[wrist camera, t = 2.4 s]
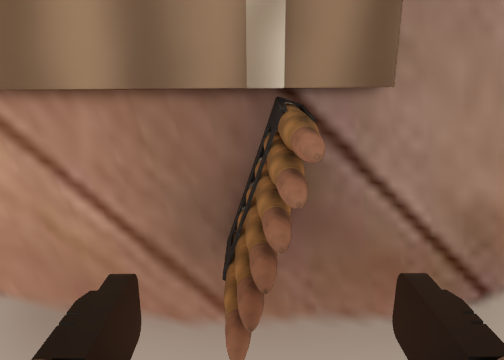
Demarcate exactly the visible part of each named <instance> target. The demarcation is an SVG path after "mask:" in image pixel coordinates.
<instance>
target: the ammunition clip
mask: <svg viewBox="0 0 504 360" xmlns="http://www.w3.org/2000/svg"><path fill="white" fill-rule="evenodd" d="M315 121H316V119H315V118H314V117H313V116H312V115H311V113H310V112H309V111H308V110H307V109H306V108H305V107H304V105H301V104H298V103H295V102H292V101H289V100H286V99H283V98H280V97H277V98H276V100H275V103H274V106H273V108H272V111H271V114H270V117H269V120H268V123H267V126H266V129H265V132H264V135H263V138H262V141H261V144H260V147H259V150H258V153H257V156H256V159H255V161H254V164H253V167H252V170H251V173H250V176H249V179H248V182H247V185H246V188H245V191H244V194H243V197H242V200H241V203H240V206H239V209H238V212H237V214H236V217H235V220H234V223H233V226H232V229H231V232H230V235H229V238H228V241H227V247H226V255H225V263H224V270H223V278H222V279H223V280H225V281H226V283H225V292H224V305H225V310H226V316H225V319H226V325H225V335H226V347H227V352H228V355H229V358H230V360H244V359H245V356H246V353H247V350H248V348H249V344H250V338H251V332H252V331H253V330H254V329H255V328H256V327H257V325H258V323H259V320H260V317H261V315H262V311H263V304H264V294H267V293H268V292H269V291H270V290H271V289H272V287H273V284H274V282H275V279H276V275H277V252H278V253H283V252H285V251H286V250H287V248H288V246H289V243H290V241H291V236H292V226H291V216H290V212H291V207H292V208H294V209H300V208H302V207H303V206H304V205H305V203H306V200H307V196H308V189H307V183H306V181H305V176H304V166H303V163H302V161H301V159H302V160H304V161H306V162H311V163H315V162H319V161H320V160H321V159H322V158H323V157H324V154H325V144H324V141H323V139H322V137H321V135H320V134H319V131H318V128H317V125H316V124H315Z"/></svg>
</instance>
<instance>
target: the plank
mask: <svg viewBox="0 0 504 360" xmlns="http://www.w3.org/2000/svg"><path fill="white" fill-rule="evenodd" d="M402 2H403V0H0V90H13V89H171V88H329V87H394V85H395V74H396V64H397V54H398V43H399V33H400V23H401V12H402Z"/></svg>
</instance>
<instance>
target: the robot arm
mask: <svg viewBox="0 0 504 360" xmlns="http://www.w3.org/2000/svg"><path fill="white" fill-rule="evenodd" d="M393 330H394V333H395V337H396V339H397V341H398V343H399V344H400V346H401V348H402V350H403V351H404V353H405V355H406V356H407V359H408V360H504V343H503V342H502V341H501V340H500V339H499V338H498V337H497V335H496V334H495V333H494V332H493V331H492V330H491V329H490V328H489V327H488V326H487V325H486V324H483V321H482V320H481V319H480V318H479V317H478V315H477V314H474V311H473V310H472V309H471V308H470V307H469V306H468V305H467V304H466V303H465V302H464V301H463V300H462V299H461V298H459V297H457V296H456V295H454V294H452V293H451V292H449V291H447V290H442V289H441V288H440V287H439V286H438V285H437V284H436V283H435V282H434V281H433V279H432V278H431V277H430V276H429V275H428V274H426V273H401V274H399V276H398V279H397V285H396V293H395V301H394V310H393ZM140 331H141V310H140V299H139V289H138V279H137V276H136V274H110V275H108V277H107V278H106V280H105V281H104V283H103V284H102V285H101V287H100V288H99V290H98V291H89V292H88V293H86V294H85V295H84V296H82V297H81V298H79V299H78V300H76V301H75V302H74V304H73V305H72V306H71V308H70V309H69V310H68V312H67V314H66V315H65V316H64V317H63V318H62V320H61V321H60V322H59V326H57V327H56V328H55V329H54V330H53V332H52V333H51V335H50V336H49V337H48V338H47V340H46V341H45V342H44V344H43V345H42V346H41V348H40V349H39V350H38V352H37V353H36V354H35V356H34V357H33V358H32V360H130V359H131V357H132V355H133V352H134V350H135V347H136V344H137V342H138V339H139V336H140Z"/></svg>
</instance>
